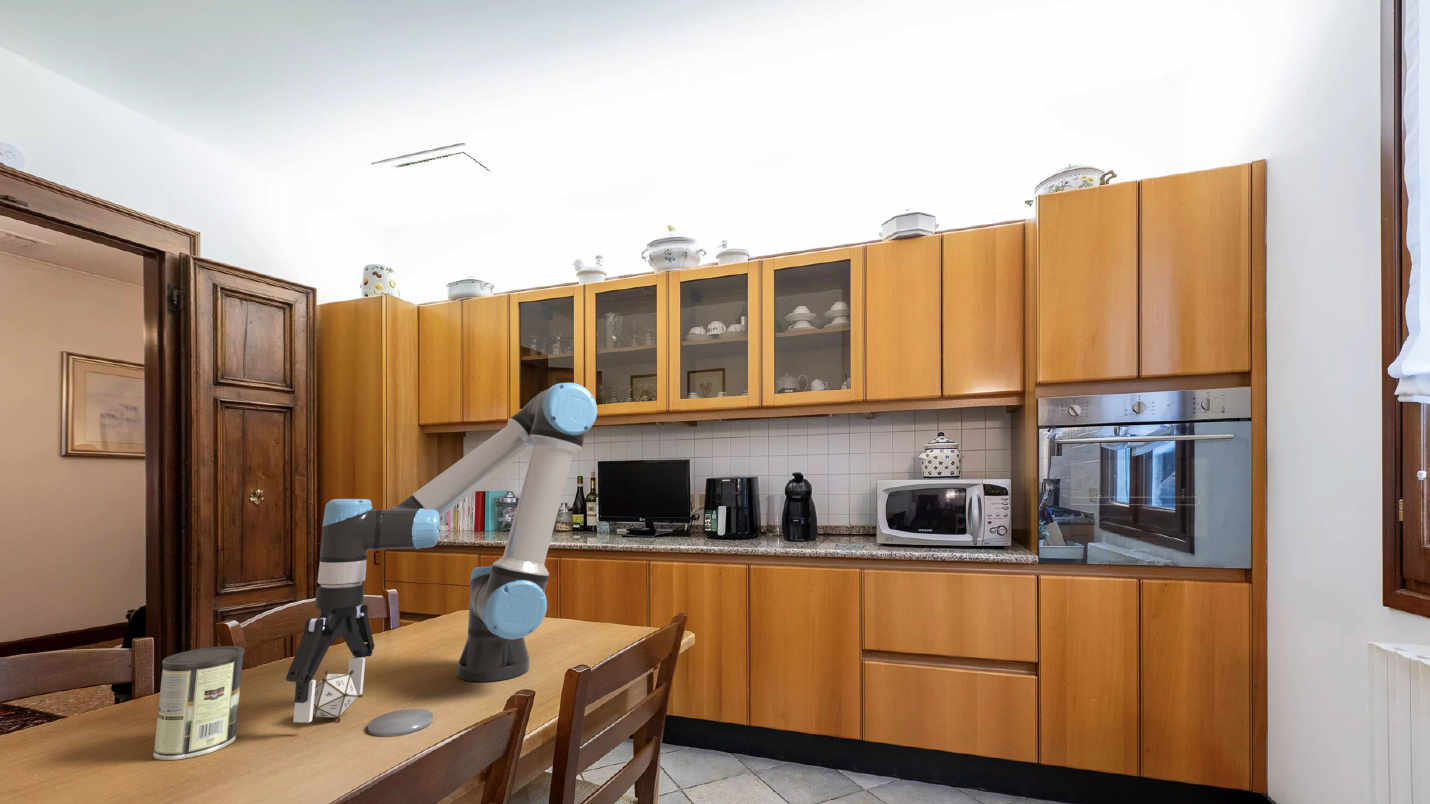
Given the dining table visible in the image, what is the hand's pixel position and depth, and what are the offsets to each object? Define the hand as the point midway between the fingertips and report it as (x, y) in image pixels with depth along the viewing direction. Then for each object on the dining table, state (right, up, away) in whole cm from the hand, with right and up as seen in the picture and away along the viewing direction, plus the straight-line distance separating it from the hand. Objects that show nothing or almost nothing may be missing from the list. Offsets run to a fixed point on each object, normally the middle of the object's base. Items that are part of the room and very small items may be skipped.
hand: (330, 707), depth 108 cm
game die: (0, -2, 0) cm, 2 cm away
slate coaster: (+14, -2, -3) cm, 14 cm away
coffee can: (-14, -1, -11) cm, 18 cm away
